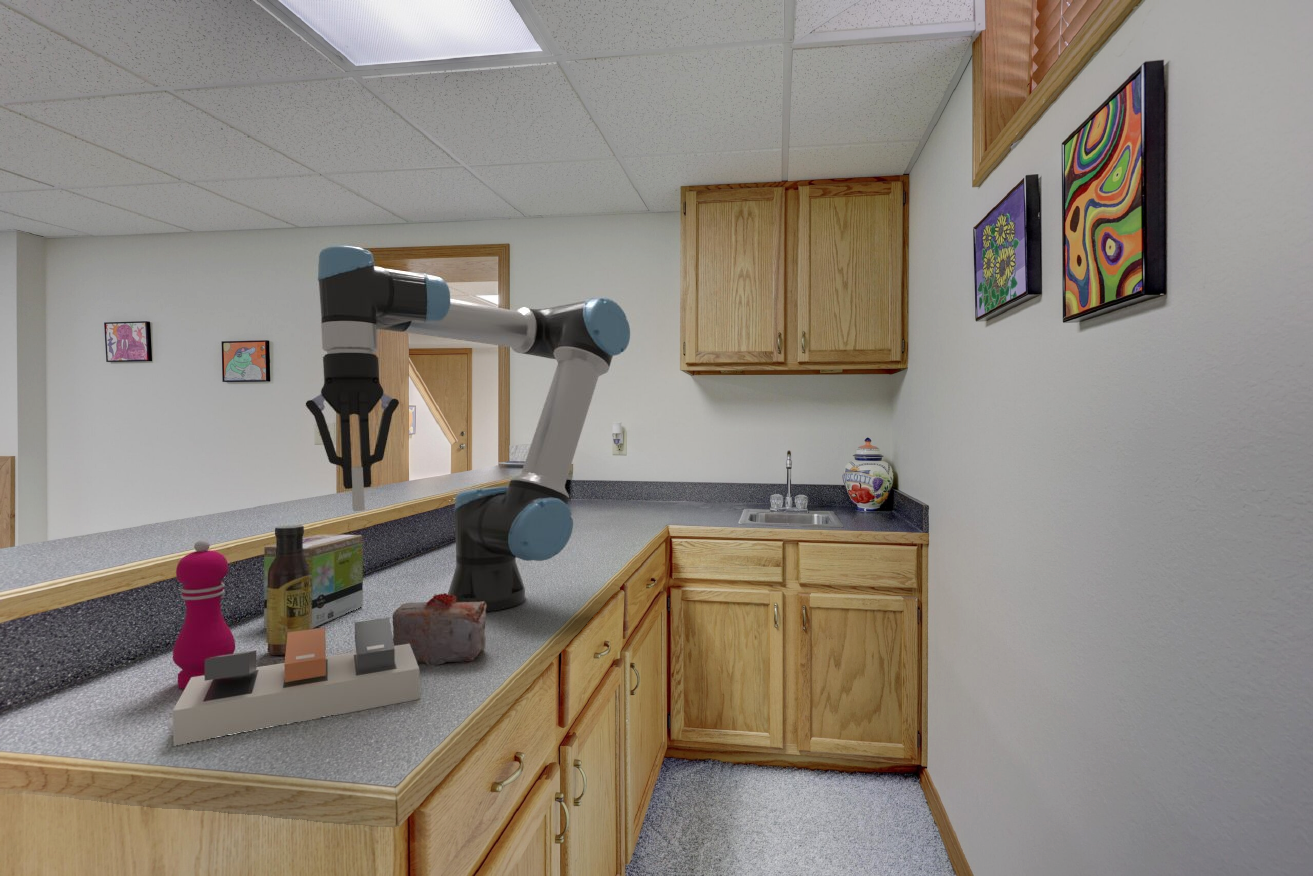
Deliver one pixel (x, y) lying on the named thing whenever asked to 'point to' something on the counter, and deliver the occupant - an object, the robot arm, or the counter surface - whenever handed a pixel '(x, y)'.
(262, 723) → the rocker switch panel
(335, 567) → the tea box
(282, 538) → the sauce bottle
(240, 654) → the block
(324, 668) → the rocker middle
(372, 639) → the rocker end
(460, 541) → the robot arm
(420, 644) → the food item
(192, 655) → the pepper mill
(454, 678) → the counter surface
